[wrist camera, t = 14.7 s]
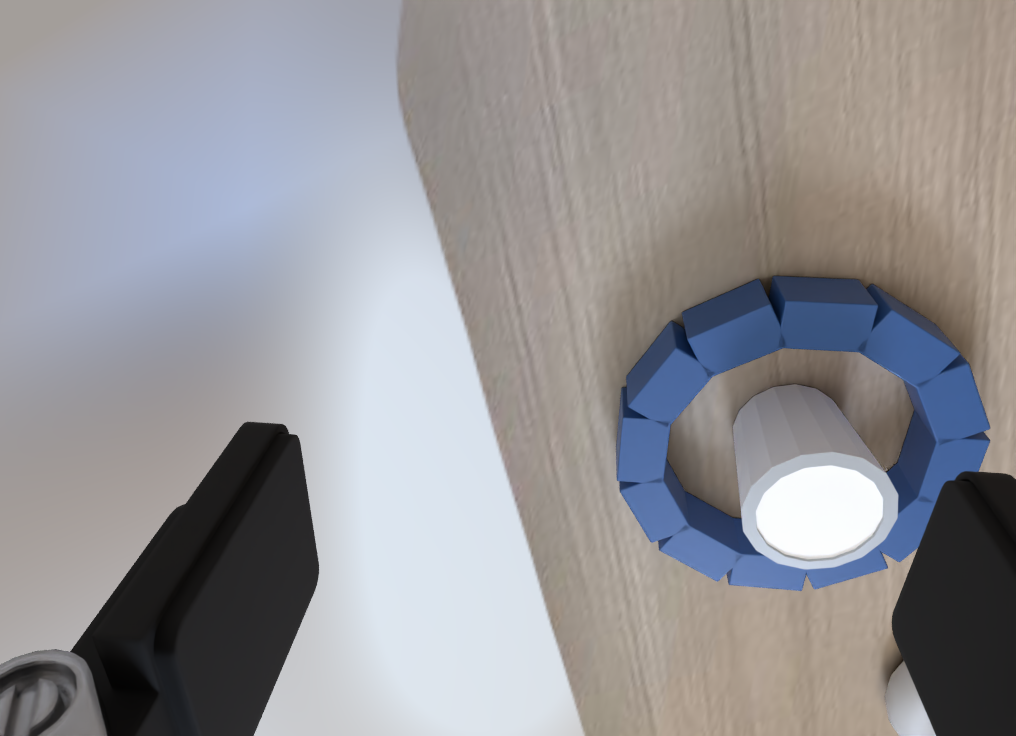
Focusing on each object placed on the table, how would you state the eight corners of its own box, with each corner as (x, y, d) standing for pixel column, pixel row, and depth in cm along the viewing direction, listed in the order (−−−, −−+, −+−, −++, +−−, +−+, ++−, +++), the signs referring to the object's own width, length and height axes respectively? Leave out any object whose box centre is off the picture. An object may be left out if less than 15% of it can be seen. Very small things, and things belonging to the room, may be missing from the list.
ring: (607, 539, 45) (608, 575, 43) (631, 269, 37) (634, 293, 34) (909, 562, 44) (928, 601, 41) (1007, 285, 35) (1040, 312, 32)
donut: (912, 608, 45) (854, 715, 50) (935, 654, 42) (870, 763, 47) (1079, 638, 45) (1005, 742, 50) (1114, 686, 42) (1031, 792, 47)
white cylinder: (881, 434, 40) (931, 522, 34) (772, 501, 42) (800, 593, 36) (802, 349, 38) (840, 426, 32) (694, 425, 41) (709, 509, 35)
